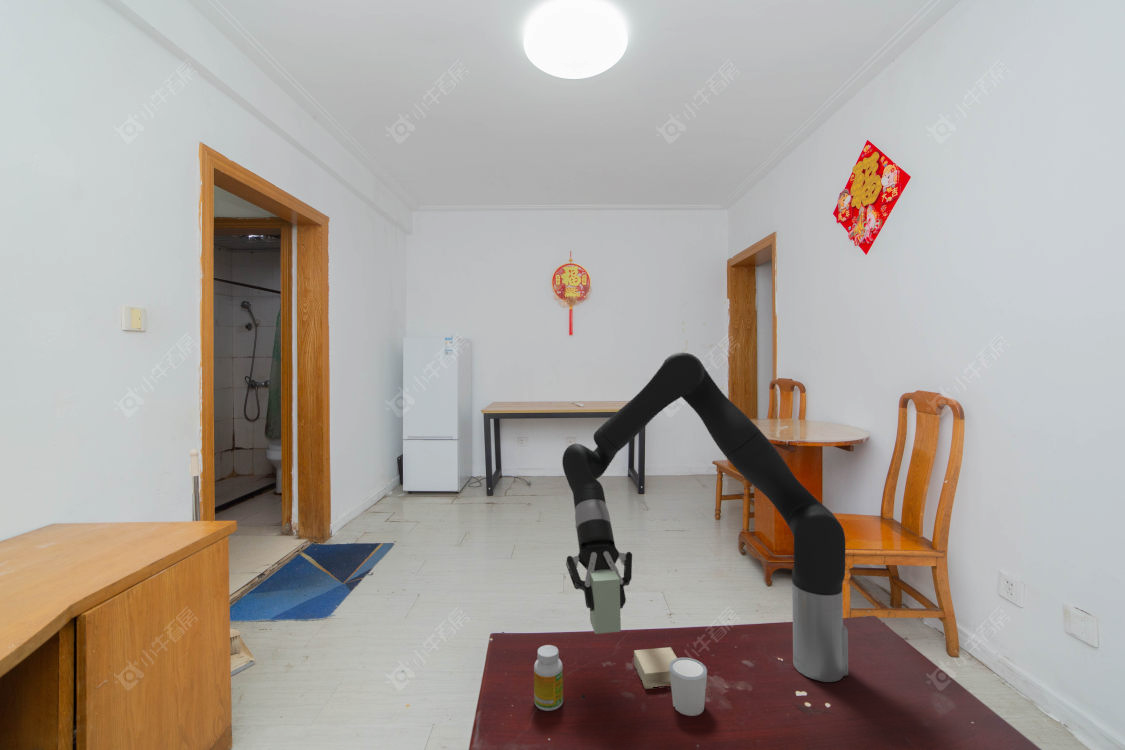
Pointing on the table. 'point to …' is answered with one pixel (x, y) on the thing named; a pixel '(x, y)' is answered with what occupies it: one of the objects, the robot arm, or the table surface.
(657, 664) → the beech block
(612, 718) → the table surface
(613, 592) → the sage brick
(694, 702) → the white cup
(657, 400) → the robot arm
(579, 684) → the table surface
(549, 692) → the supplement bottle
